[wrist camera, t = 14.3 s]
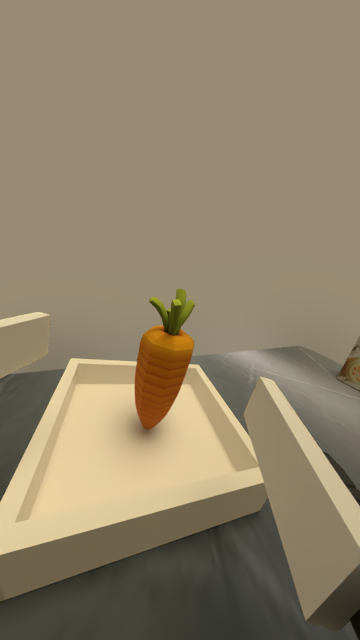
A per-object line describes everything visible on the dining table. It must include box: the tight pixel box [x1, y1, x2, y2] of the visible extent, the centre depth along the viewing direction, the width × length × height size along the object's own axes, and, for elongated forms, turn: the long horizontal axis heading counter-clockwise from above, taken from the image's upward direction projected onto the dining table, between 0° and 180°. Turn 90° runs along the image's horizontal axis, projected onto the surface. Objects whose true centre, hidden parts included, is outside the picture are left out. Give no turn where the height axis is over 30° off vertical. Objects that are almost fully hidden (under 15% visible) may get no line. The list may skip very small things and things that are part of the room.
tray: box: [0, 359, 268, 602], centre depth 18 cm, size 18×16×4 cm
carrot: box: [135, 289, 195, 430], centre depth 16 cm, size 5×5×15 cm
